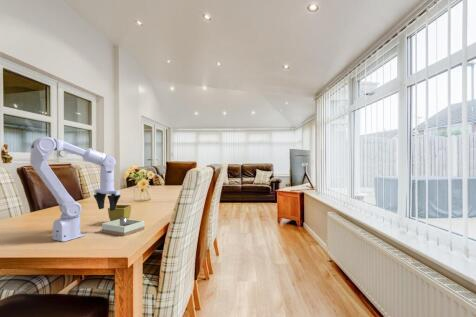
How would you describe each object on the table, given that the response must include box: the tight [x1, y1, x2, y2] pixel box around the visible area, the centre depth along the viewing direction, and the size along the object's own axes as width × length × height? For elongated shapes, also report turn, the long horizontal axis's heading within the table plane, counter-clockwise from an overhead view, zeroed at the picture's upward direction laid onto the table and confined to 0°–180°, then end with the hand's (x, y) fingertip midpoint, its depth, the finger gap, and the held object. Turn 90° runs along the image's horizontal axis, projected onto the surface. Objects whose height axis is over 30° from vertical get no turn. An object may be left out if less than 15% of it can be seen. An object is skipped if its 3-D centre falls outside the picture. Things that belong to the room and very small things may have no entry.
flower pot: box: [107, 204, 132, 222], centre depth 136 cm, size 9×9×9 cm
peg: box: [120, 217, 127, 226], centre depth 123 cm, size 3×3×6 cm
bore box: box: [101, 218, 145, 237], centre depth 123 cm, size 12×14×4 cm
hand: (106, 209), depth 123 cm, fingers open, 7 cm apart
